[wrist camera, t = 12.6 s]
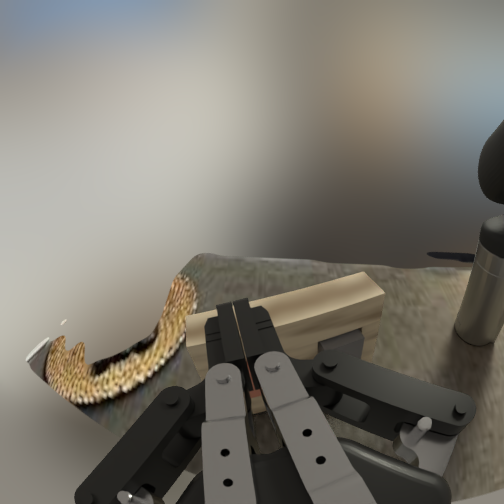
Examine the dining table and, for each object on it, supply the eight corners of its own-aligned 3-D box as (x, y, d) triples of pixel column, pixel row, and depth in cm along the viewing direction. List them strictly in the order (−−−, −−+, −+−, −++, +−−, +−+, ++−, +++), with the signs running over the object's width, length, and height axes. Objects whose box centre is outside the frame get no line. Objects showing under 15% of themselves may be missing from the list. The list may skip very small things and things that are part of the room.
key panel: (217, 393, 38) (185, 316, 30) (353, 355, 40) (363, 271, 33) (222, 420, 33) (186, 346, 26) (367, 377, 36) (385, 293, 28)
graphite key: (315, 360, 33) (315, 334, 31) (349, 348, 34) (353, 321, 31) (323, 377, 31) (325, 351, 28) (359, 363, 31) (364, 337, 29)
